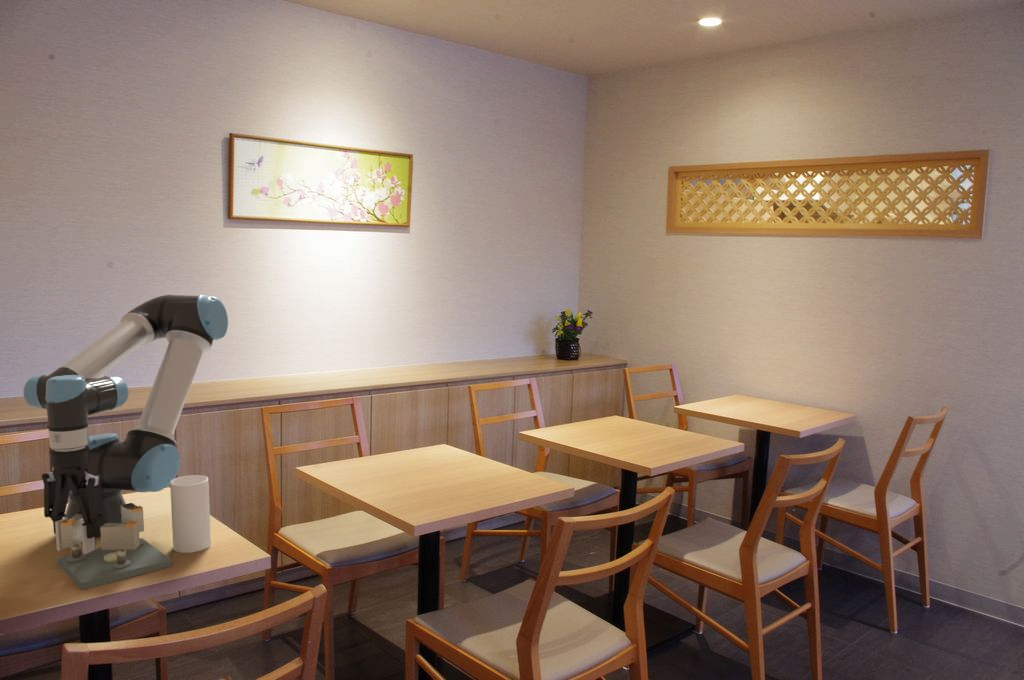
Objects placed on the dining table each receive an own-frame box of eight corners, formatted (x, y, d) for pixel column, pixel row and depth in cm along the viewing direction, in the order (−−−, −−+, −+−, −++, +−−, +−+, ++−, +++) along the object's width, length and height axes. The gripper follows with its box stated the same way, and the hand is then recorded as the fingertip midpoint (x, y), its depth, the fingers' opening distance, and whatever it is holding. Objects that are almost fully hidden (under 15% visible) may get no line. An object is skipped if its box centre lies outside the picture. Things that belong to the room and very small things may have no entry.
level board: (57, 564, 175) (56, 554, 175) (142, 544, 188) (141, 534, 187) (82, 590, 162) (81, 579, 162) (171, 566, 175) (171, 555, 175)
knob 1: (102, 564, 170) (100, 524, 169) (107, 559, 172) (105, 521, 171) (135, 563, 170) (133, 524, 169) (140, 559, 172) (138, 520, 172)
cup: (188, 555, 181) (184, 487, 179) (165, 548, 185) (162, 481, 183) (218, 544, 188) (215, 478, 186) (196, 537, 192) (193, 473, 190)
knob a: (78, 549, 178) (76, 512, 177) (89, 549, 178) (87, 512, 177) (62, 562, 171) (60, 522, 170) (74, 561, 171) (71, 522, 170)
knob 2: (122, 539, 184) (120, 502, 183) (133, 536, 186) (131, 500, 185) (133, 547, 180) (131, 510, 179) (144, 544, 181) (142, 507, 180)
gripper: (19, 448, 171) (26, 551, 173) (92, 454, 166) (99, 561, 168) (47, 440, 178) (54, 539, 181) (119, 446, 173) (125, 548, 176)
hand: (76, 549), depth 174 cm, fingers open, 6 cm apart
